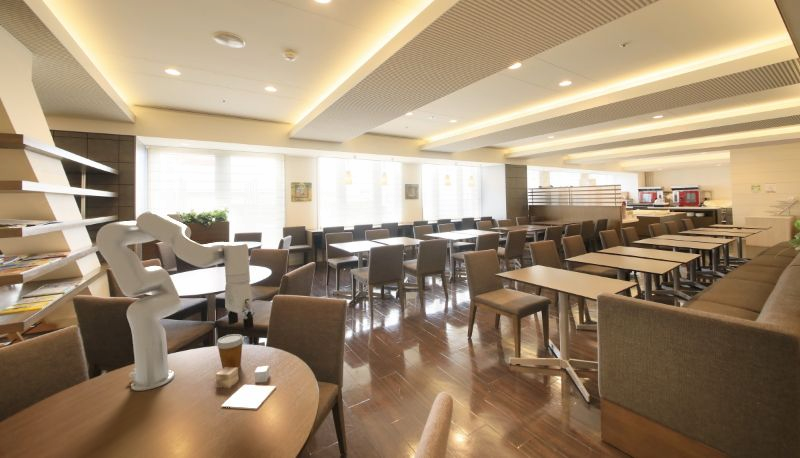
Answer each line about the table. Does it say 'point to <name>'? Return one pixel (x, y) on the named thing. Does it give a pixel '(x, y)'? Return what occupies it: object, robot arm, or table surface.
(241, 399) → the tray
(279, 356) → the table surface
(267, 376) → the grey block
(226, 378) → the oak cube
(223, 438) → the table surface
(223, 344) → the disposable coffee cup
